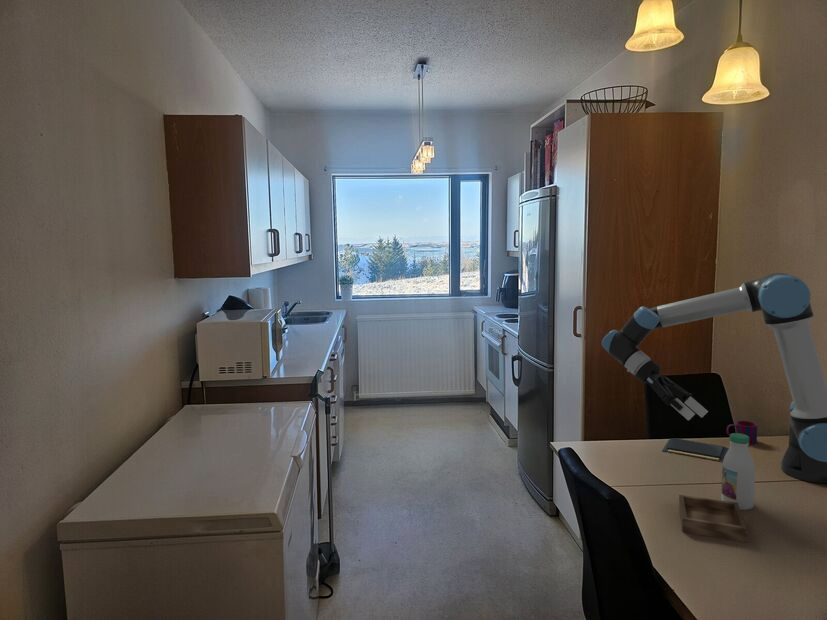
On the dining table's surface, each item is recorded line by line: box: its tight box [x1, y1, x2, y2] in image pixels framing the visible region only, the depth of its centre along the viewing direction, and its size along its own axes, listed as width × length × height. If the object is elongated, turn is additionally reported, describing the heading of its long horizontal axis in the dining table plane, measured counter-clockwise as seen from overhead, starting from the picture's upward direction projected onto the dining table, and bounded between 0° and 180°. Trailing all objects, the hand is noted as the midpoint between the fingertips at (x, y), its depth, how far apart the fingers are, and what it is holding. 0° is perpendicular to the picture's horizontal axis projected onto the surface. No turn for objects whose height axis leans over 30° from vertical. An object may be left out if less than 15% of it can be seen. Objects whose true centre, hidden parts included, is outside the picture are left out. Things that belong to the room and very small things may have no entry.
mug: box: [726, 420, 758, 445], centre depth 190 cm, size 7×10×7 cm
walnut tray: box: [678, 494, 748, 543], centre depth 135 cm, size 14×14×4 cm
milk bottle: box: [720, 432, 756, 511], centre depth 143 cm, size 8×8×20 cm
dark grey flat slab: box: [661, 437, 729, 463], centre depth 183 cm, size 20×2×15 cm
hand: (698, 416), depth 155 cm, fingers open, 13 cm apart
